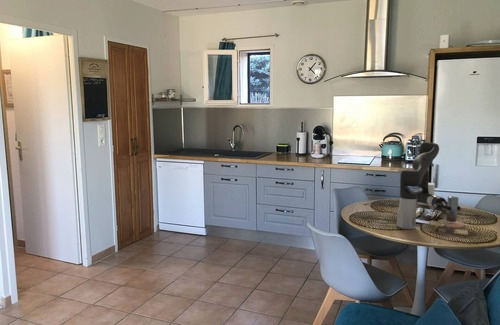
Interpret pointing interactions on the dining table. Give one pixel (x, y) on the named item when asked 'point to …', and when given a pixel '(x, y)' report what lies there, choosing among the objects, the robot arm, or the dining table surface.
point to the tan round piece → (452, 224)
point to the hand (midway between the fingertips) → (455, 208)
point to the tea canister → (452, 209)
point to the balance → (449, 231)
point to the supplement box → (431, 190)
